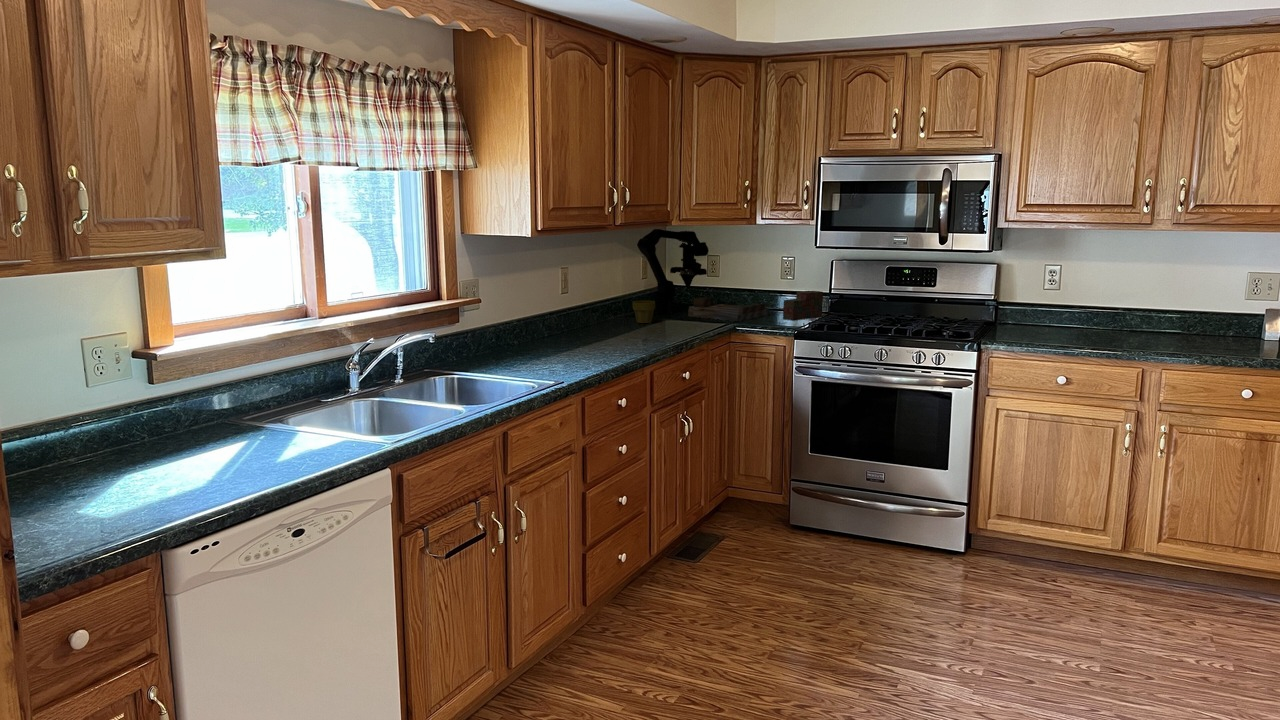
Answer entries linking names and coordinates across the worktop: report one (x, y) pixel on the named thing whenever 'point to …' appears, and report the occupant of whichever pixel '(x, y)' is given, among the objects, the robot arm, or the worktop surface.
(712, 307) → the trap deck
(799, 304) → the stack of blocks
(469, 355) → the worktop surface
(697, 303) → the walnut block
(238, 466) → the worktop surface
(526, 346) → the worktop surface
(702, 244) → the robot arm
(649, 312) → the plant pot
